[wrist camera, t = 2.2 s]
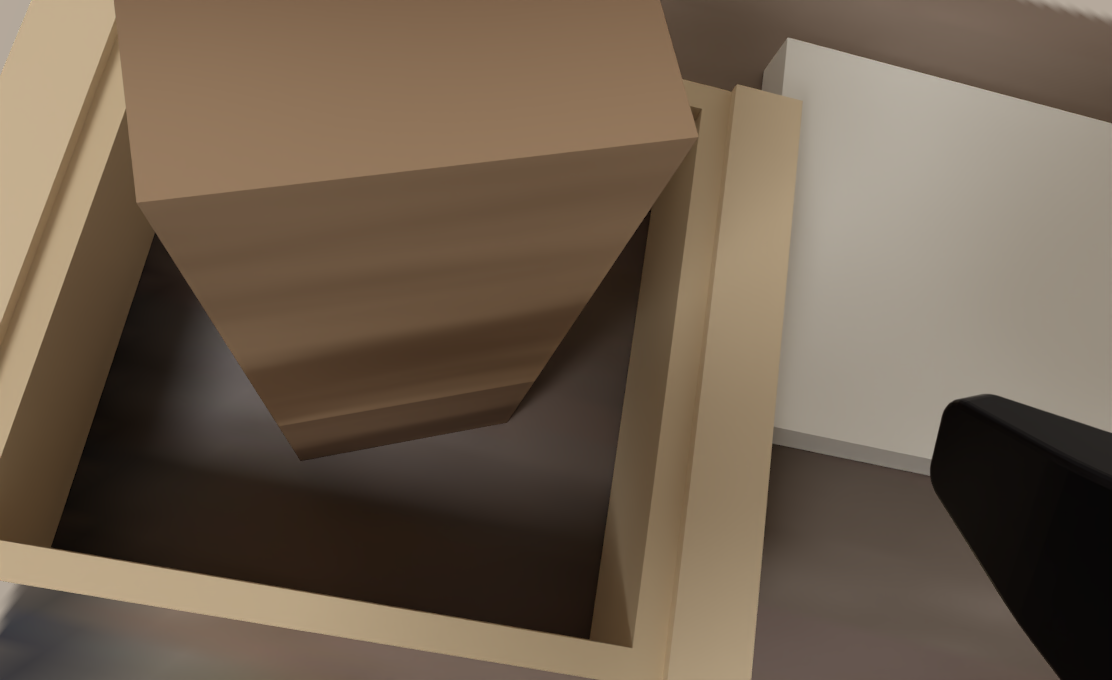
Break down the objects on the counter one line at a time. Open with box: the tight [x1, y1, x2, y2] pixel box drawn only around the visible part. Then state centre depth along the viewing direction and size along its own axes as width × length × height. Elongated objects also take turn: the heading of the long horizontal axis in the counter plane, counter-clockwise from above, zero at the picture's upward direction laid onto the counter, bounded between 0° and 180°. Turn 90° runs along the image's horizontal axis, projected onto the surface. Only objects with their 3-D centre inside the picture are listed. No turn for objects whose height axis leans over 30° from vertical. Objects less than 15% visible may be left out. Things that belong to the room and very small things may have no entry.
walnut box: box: [114, 0, 698, 461], centre depth 14 cm, size 4×4×13 cm
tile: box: [762, 38, 1112, 476], centre depth 22 cm, size 10×14×2 cm
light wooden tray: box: [0, 0, 803, 680], centre depth 18 cm, size 12×15×4 cm
